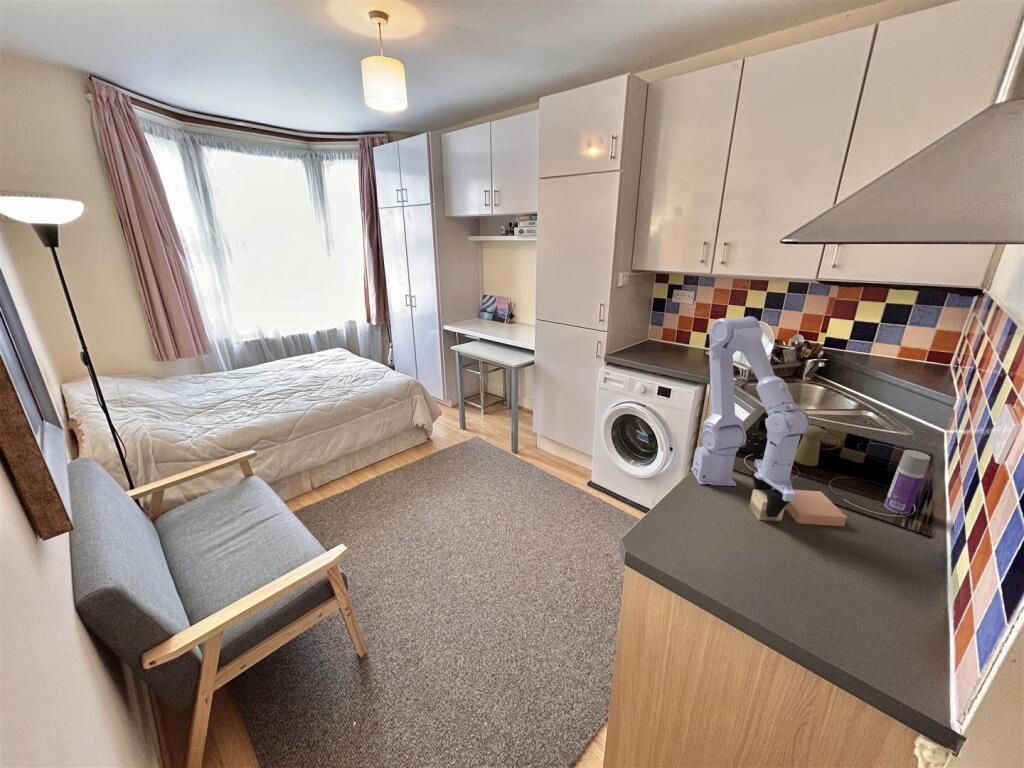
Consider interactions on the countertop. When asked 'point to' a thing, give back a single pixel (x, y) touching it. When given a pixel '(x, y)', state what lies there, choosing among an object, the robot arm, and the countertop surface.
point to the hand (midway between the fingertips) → (765, 508)
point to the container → (907, 481)
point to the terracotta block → (814, 509)
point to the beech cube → (762, 506)
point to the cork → (809, 446)
